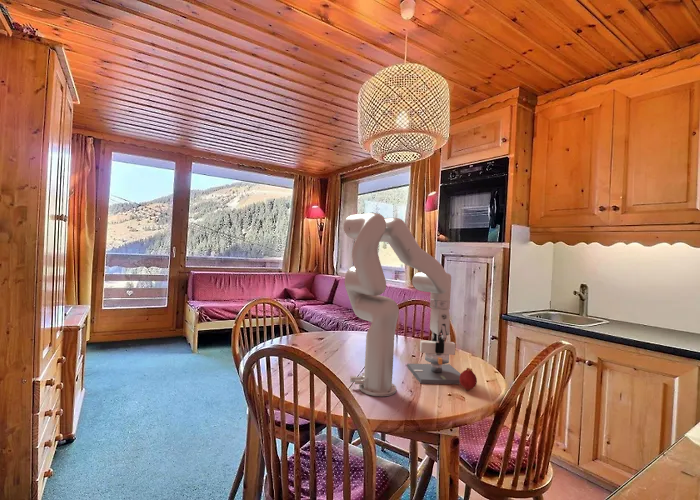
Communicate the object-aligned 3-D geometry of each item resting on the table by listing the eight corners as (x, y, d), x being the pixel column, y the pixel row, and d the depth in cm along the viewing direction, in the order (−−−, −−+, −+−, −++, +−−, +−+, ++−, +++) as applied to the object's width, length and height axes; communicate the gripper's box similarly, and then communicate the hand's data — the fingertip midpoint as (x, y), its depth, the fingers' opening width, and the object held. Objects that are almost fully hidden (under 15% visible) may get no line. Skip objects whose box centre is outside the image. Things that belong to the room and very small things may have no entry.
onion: (462, 386, 129) (463, 363, 129) (478, 390, 125) (479, 367, 125) (456, 390, 124) (457, 367, 124) (472, 395, 121) (473, 371, 121)
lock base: (420, 383, 129) (421, 368, 129) (407, 367, 147) (408, 353, 147) (468, 384, 131) (469, 369, 131) (449, 367, 149) (450, 354, 149)
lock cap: (458, 367, 132) (459, 348, 132) (422, 364, 133) (423, 345, 133) (451, 358, 143) (451, 340, 143) (418, 355, 144) (419, 338, 144)
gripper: (457, 308, 131) (455, 358, 131) (441, 301, 148) (439, 345, 148) (437, 307, 130) (435, 357, 130) (424, 300, 147) (421, 345, 147)
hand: (437, 350), depth 139 cm, fingers closed on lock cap, 3 cm apart
